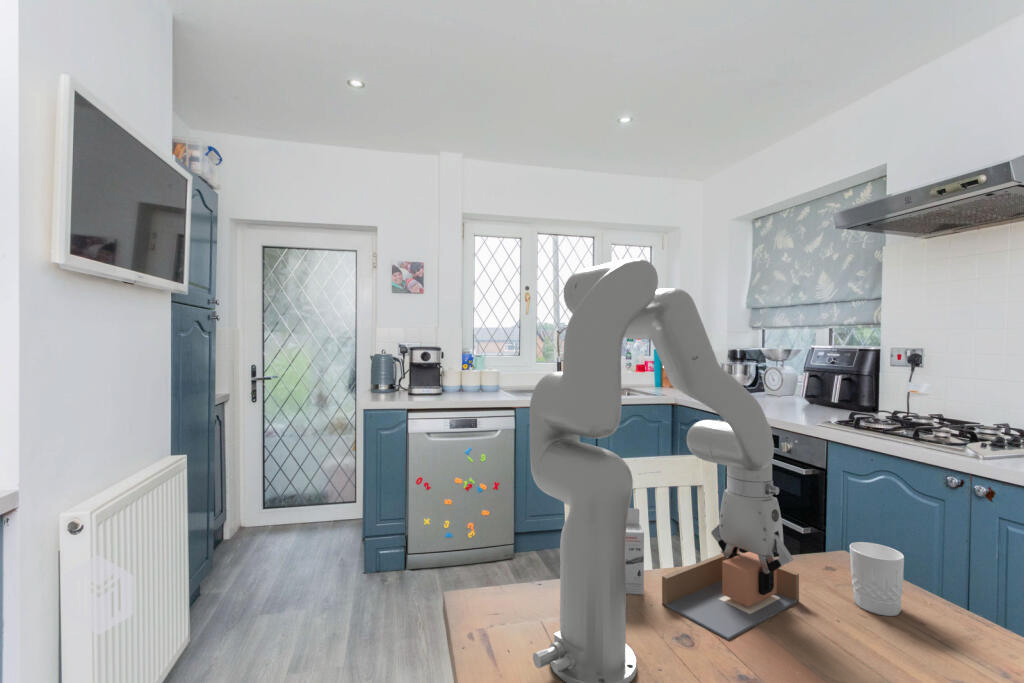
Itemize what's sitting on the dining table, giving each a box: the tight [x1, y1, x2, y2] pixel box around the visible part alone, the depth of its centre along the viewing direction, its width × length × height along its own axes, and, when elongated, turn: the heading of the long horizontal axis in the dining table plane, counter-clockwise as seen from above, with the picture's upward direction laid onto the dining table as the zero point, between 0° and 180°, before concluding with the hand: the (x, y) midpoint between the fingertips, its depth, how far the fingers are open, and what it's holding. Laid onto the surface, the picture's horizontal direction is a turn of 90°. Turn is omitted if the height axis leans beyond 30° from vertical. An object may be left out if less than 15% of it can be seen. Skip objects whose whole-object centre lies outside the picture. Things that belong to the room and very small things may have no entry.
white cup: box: [849, 541, 905, 617], centre depth 87 cm, size 8×8×10 cm
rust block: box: [722, 551, 777, 606], centre depth 89 cm, size 5×9×6 cm, turn 122°
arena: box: [661, 550, 800, 641], centre depth 88 cm, size 22×13×5 cm, turn 123°
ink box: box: [626, 507, 645, 595], centre depth 94 cm, size 9×5×15 cm, turn 84°
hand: (749, 584), depth 89 cm, fingers open, 5 cm apart
